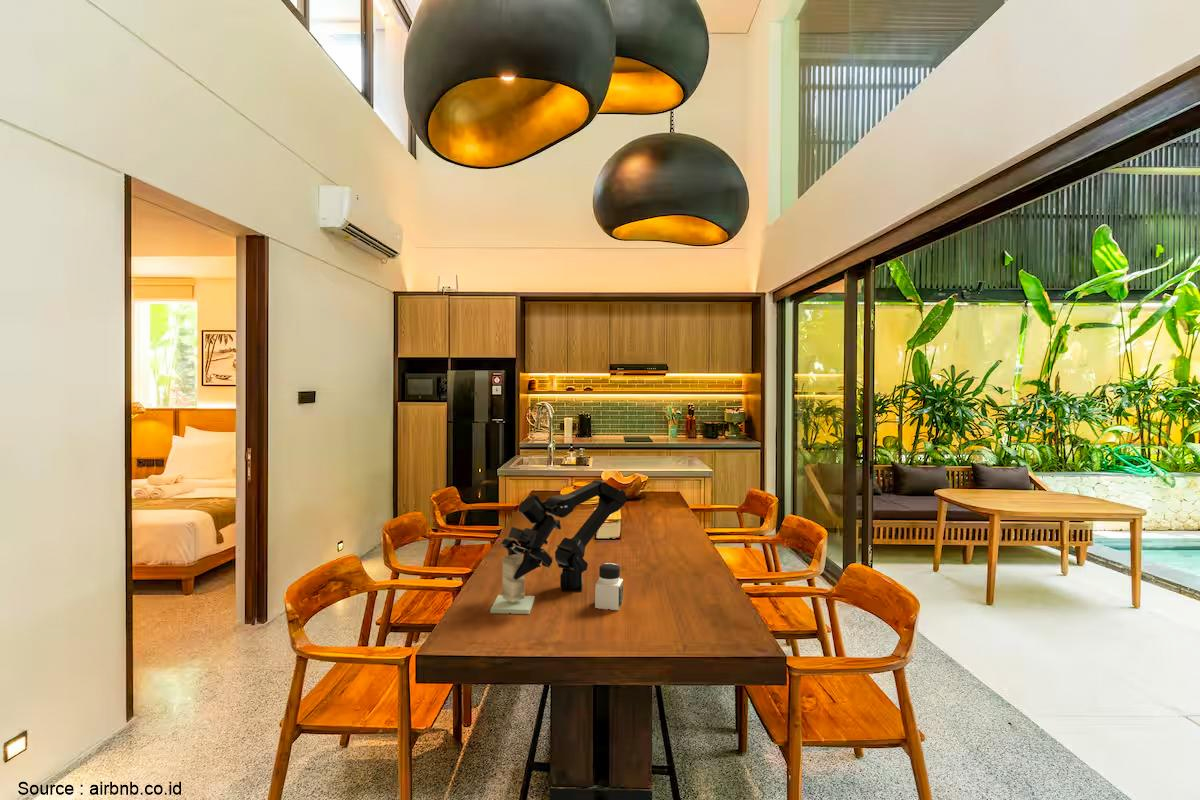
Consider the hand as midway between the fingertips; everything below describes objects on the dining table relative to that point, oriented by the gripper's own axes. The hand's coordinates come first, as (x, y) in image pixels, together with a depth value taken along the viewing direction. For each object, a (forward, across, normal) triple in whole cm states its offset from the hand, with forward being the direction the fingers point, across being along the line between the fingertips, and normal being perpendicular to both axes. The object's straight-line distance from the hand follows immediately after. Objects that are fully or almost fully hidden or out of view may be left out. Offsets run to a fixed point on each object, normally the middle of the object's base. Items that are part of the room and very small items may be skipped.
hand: (509, 576), depth 168 cm
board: (+5, 0, +7) cm, 9 cm away
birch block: (+4, 0, +6) cm, 7 cm away
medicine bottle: (-9, +18, +23) cm, 31 cm away
